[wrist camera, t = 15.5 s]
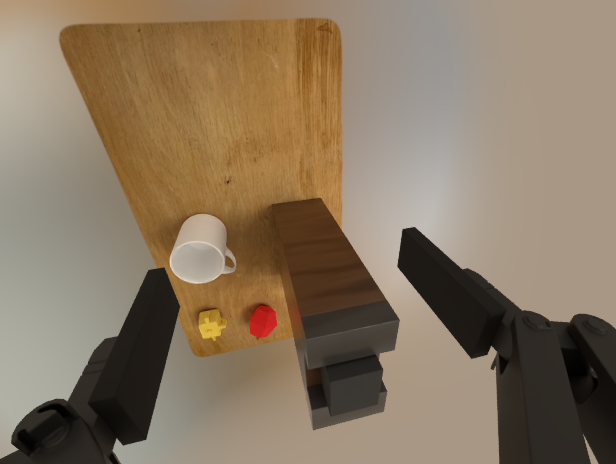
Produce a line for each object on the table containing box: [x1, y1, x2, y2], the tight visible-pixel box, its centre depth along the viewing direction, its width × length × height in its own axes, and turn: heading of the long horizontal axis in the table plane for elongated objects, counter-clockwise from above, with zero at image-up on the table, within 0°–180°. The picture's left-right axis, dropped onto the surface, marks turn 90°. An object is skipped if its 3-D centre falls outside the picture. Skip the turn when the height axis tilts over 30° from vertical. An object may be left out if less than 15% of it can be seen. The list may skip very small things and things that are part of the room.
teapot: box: [199, 309, 227, 341], centre depth 64 cm, size 8×6×5 cm
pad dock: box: [272, 198, 400, 430], centre depth 47 cm, size 18×10×33 cm, turn 3°
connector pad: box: [321, 354, 383, 417], centre depth 33 cm, size 7×6×4 cm
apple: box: [249, 305, 277, 340], centre depth 66 cm, size 7×7×8 cm
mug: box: [170, 214, 236, 283], centre depth 51 cm, size 9×12×11 cm
